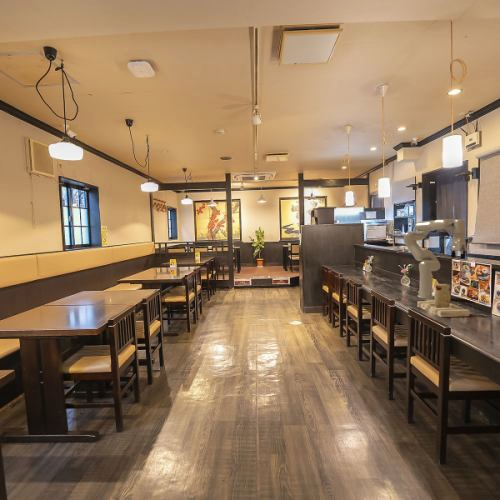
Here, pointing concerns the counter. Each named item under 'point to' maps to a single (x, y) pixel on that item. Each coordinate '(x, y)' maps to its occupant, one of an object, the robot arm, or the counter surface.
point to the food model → (442, 296)
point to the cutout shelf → (443, 309)
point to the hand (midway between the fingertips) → (457, 258)
